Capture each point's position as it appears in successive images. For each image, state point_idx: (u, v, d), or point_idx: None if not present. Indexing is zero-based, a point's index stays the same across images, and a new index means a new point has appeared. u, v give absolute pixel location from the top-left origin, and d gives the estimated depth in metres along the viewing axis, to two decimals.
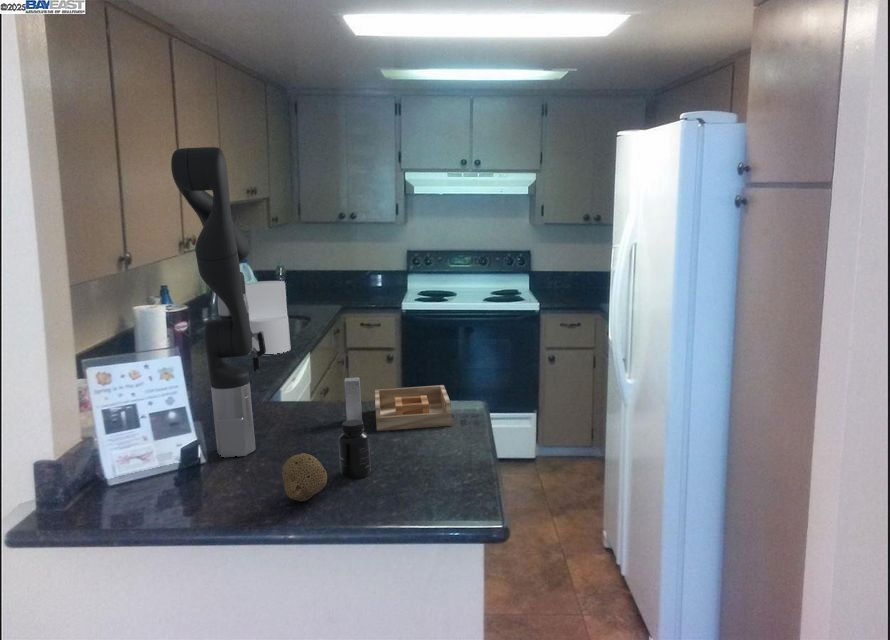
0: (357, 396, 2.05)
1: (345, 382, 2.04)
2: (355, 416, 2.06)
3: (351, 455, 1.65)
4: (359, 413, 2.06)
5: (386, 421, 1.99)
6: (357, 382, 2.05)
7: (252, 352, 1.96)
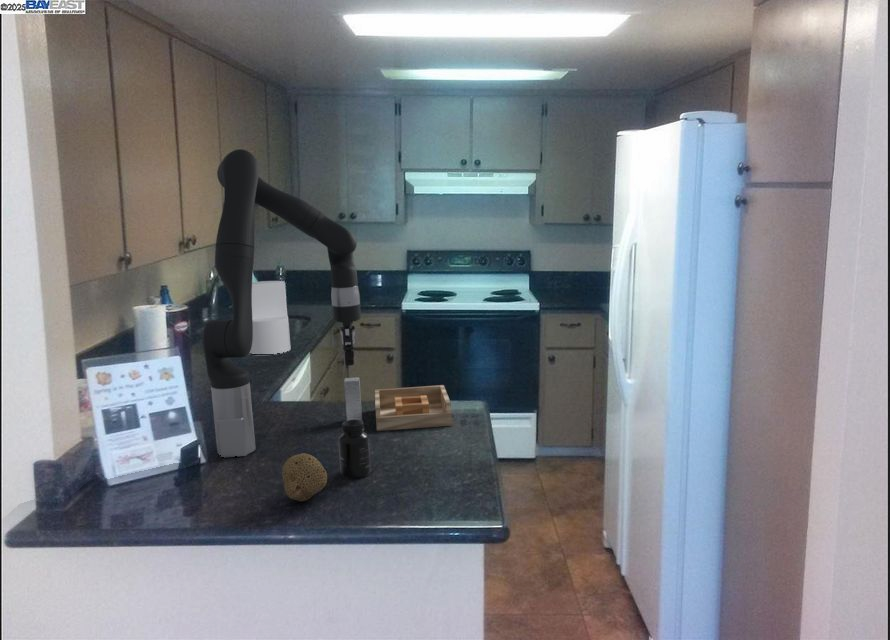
0: (357, 396, 2.05)
1: (345, 382, 2.04)
2: (355, 416, 2.06)
3: (351, 455, 1.65)
4: (359, 413, 2.06)
5: (386, 421, 1.99)
6: (357, 382, 2.05)
7: None
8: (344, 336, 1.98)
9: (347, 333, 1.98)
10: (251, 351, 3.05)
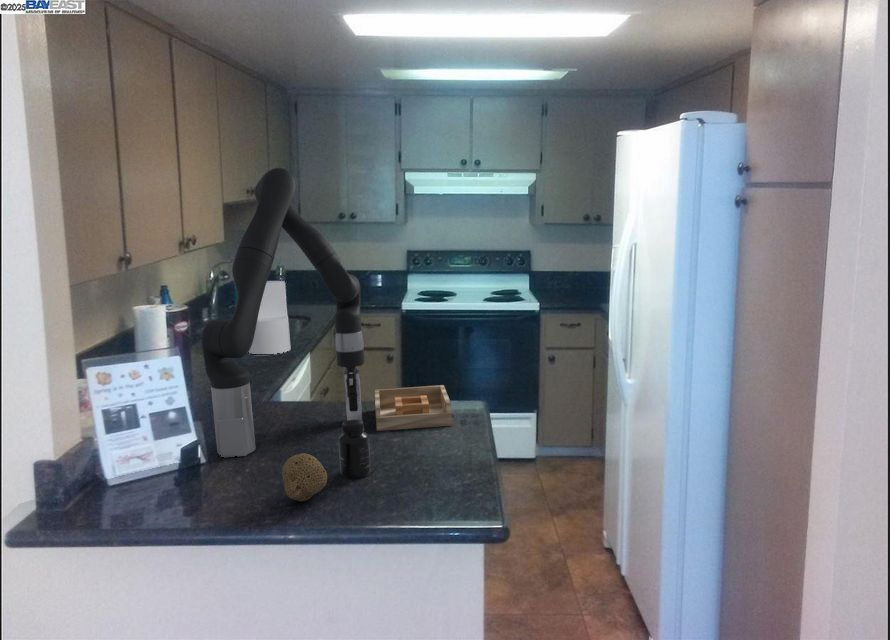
0: (357, 396, 2.05)
1: (345, 382, 2.04)
2: (355, 416, 2.06)
3: (351, 455, 1.65)
4: (359, 413, 2.06)
5: (386, 421, 1.99)
6: None
7: None
8: (348, 386, 2.00)
9: (351, 383, 2.00)
10: (251, 351, 3.05)
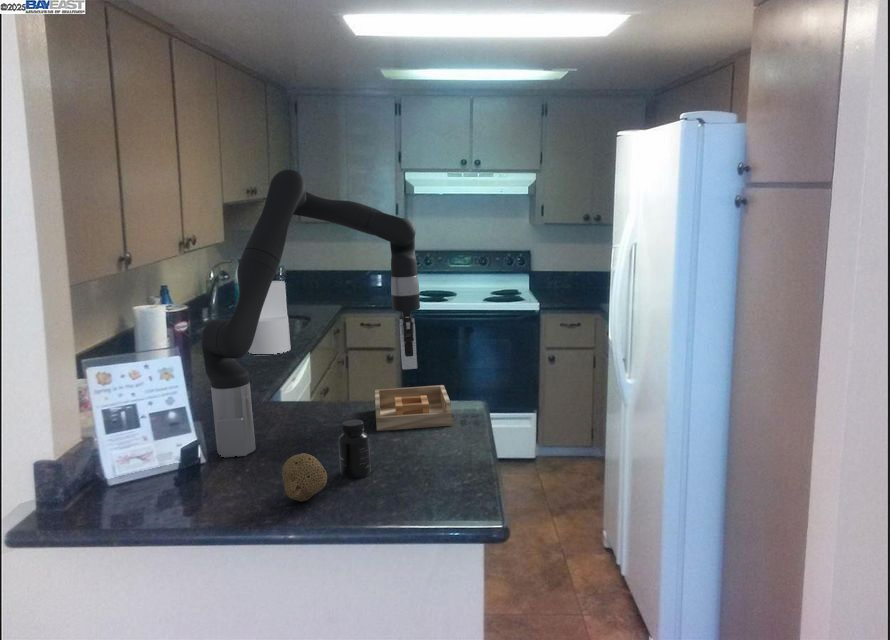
0: None
1: None
2: (410, 362, 2.05)
3: (351, 455, 1.65)
4: (414, 358, 2.05)
5: (386, 421, 1.99)
6: None
7: None
8: (405, 330, 2.00)
9: (408, 327, 1.99)
10: (251, 351, 3.05)
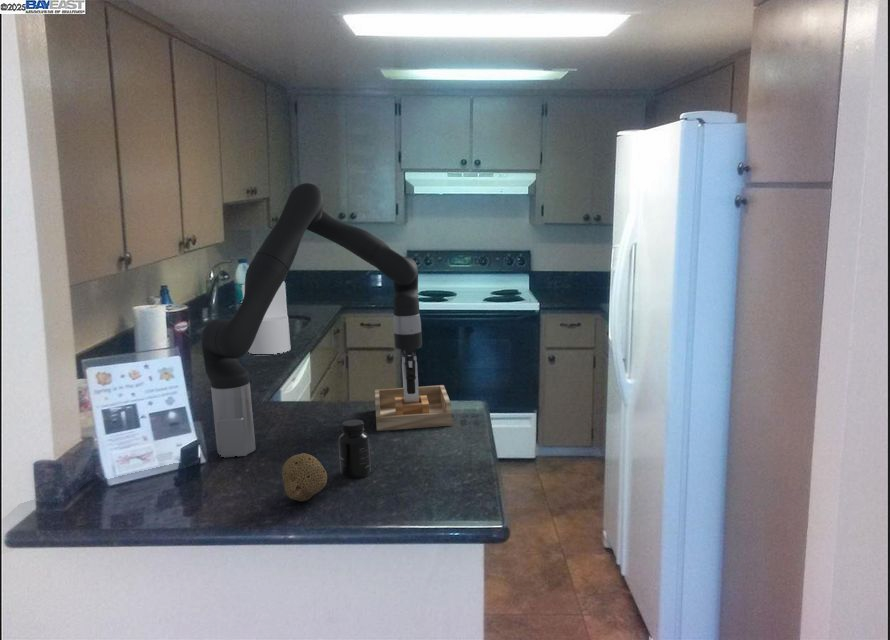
0: None
1: (403, 364, 2.05)
2: (412, 399, 2.07)
3: (351, 455, 1.65)
4: (417, 395, 2.07)
5: (386, 421, 1.99)
6: None
7: None
8: (407, 368, 2.01)
9: (410, 366, 2.01)
10: (251, 351, 3.05)
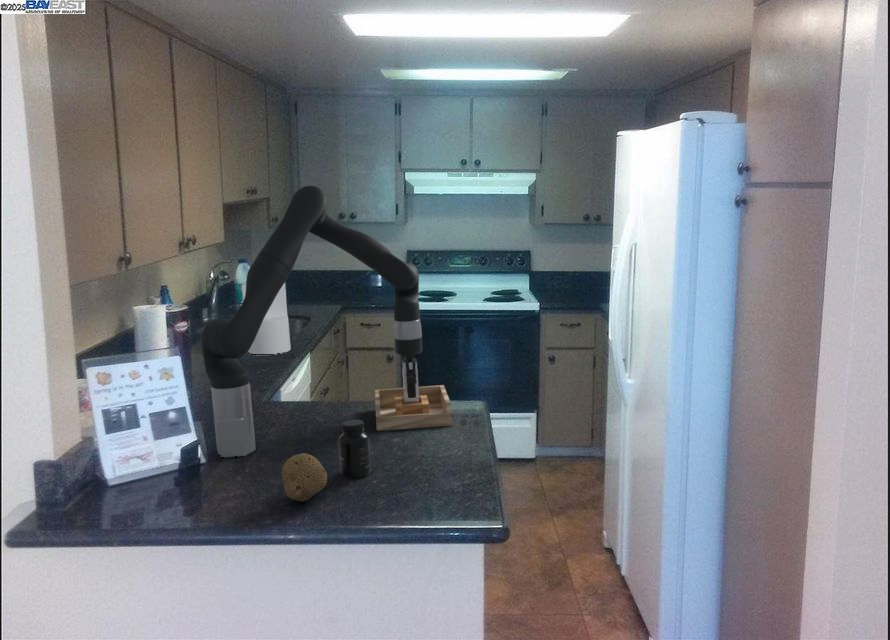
0: None
1: None
2: None
3: (351, 455, 1.65)
4: (417, 402, 2.07)
5: (386, 421, 1.99)
6: None
7: None
8: (408, 370, 2.01)
9: (411, 367, 2.01)
10: (251, 351, 3.05)
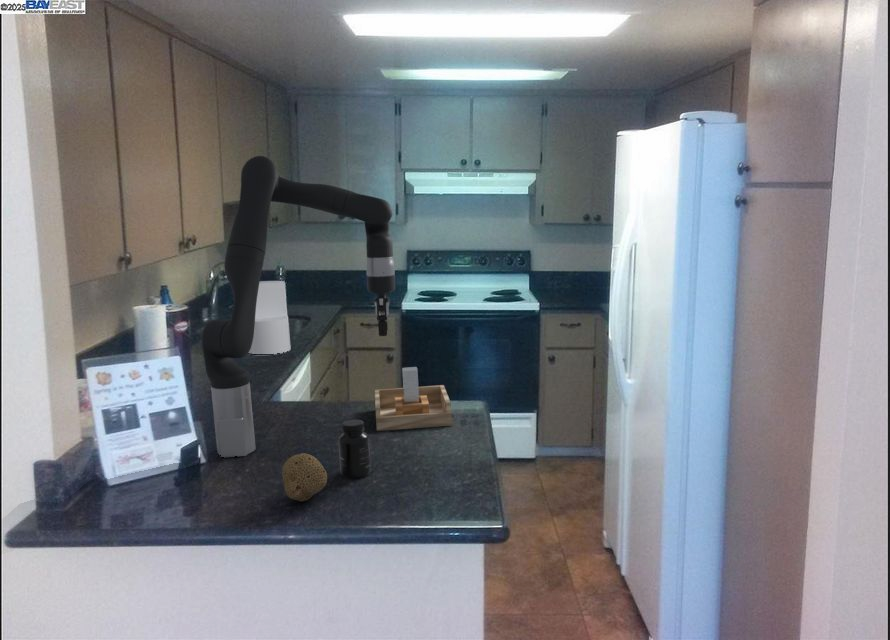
0: (415, 385, 2.07)
1: (404, 371, 2.06)
2: None
3: (351, 455, 1.65)
4: (417, 402, 2.07)
5: (386, 421, 1.99)
6: (415, 372, 2.06)
7: None
8: (378, 305, 1.97)
9: (381, 302, 1.97)
10: (251, 351, 3.05)
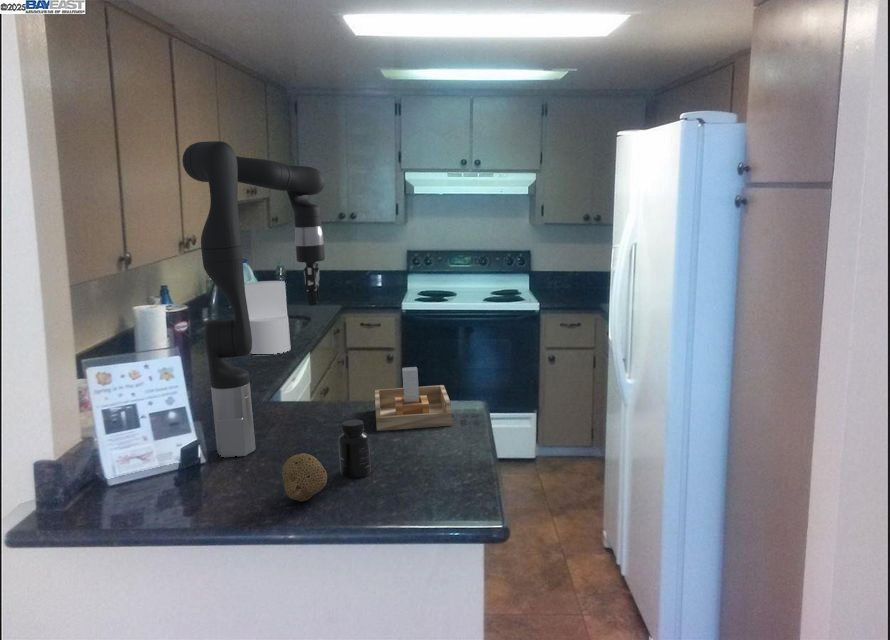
0: (415, 385, 2.07)
1: (404, 371, 2.06)
2: None
3: (351, 455, 1.65)
4: (417, 402, 2.07)
5: (386, 421, 1.99)
6: (415, 372, 2.06)
7: (318, 281, 2.09)
8: (306, 275, 1.98)
9: (309, 272, 1.98)
10: (251, 351, 3.05)
